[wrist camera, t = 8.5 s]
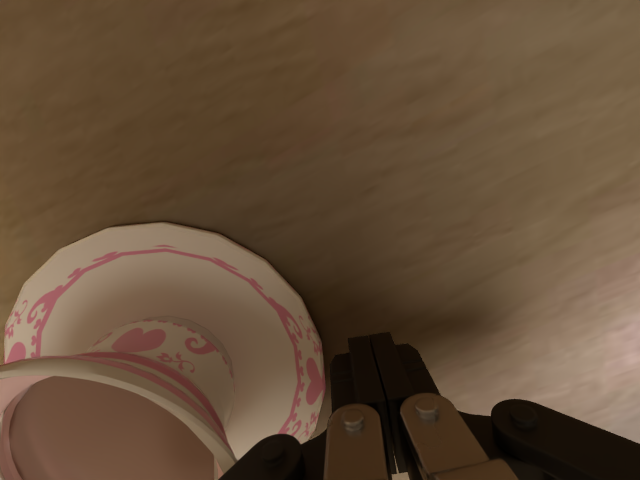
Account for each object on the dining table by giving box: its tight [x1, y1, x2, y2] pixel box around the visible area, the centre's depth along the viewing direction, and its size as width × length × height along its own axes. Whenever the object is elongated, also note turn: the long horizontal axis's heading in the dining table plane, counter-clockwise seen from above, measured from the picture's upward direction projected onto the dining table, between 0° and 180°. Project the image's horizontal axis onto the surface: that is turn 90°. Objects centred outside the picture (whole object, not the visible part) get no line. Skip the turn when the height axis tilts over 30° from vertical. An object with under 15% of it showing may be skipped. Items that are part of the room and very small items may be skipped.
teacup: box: [0, 222, 326, 480], centre depth 11 cm, size 12×12×6 cm
